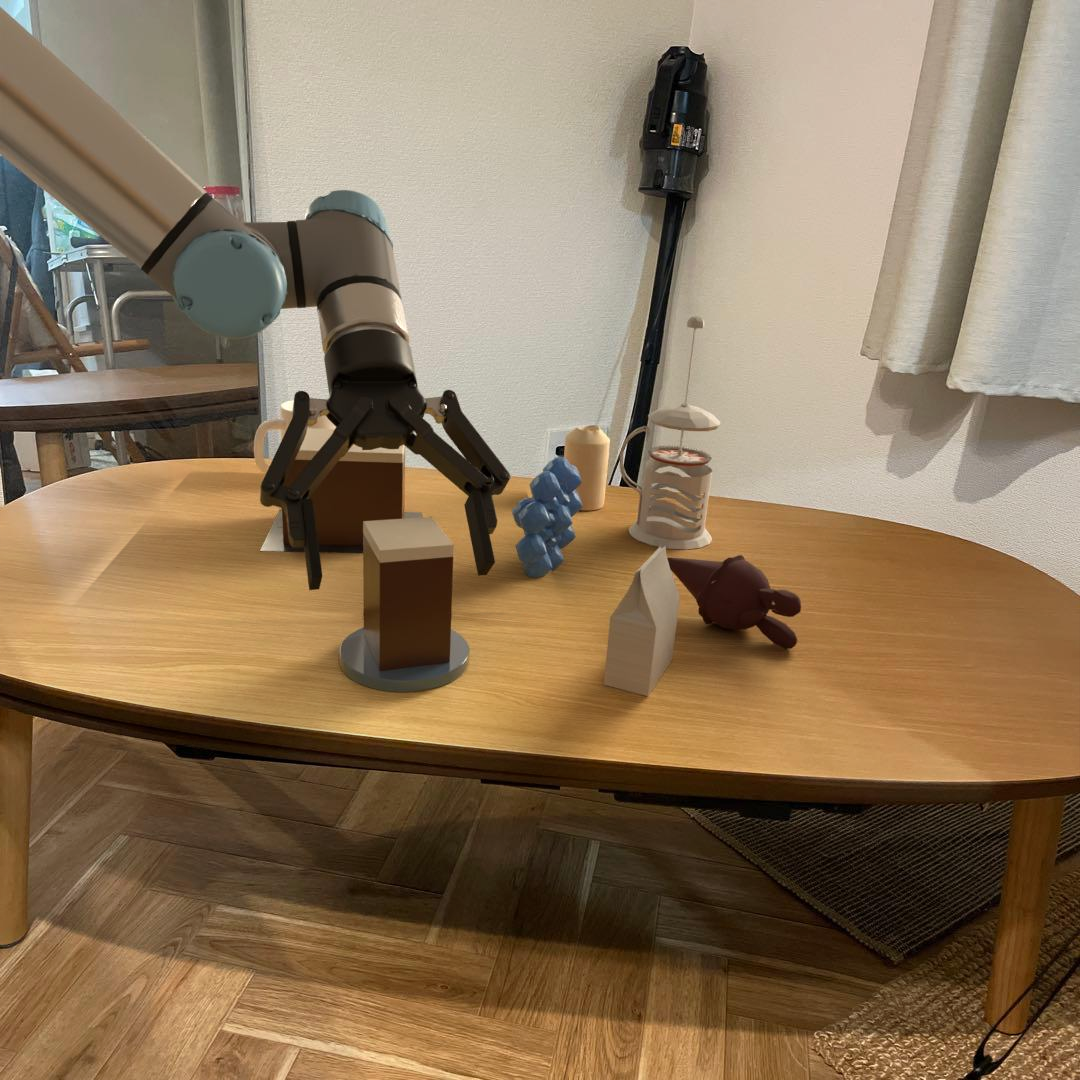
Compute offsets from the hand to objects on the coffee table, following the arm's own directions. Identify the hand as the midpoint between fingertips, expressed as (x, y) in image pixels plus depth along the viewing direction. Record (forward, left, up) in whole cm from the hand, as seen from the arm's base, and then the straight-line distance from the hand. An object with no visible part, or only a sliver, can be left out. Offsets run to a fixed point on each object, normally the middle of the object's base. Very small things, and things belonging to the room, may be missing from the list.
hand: (404, 576), depth 70 cm
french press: (+29, +31, -7) cm, 43 cm away
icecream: (+29, +7, -7) cm, 31 cm away
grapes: (+13, +19, -7) cm, 24 cm away
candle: (+21, +41, -7) cm, 47 cm away
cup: (-14, +45, -7) cm, 48 cm away
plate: (0, 0, -7) cm, 7 cm away
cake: (-7, +27, -6) cm, 28 cm away
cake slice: (0, 0, -6) cm, 6 cm away
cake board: (-7, +27, -7) cm, 29 cm away
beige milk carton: (+19, -2, -7) cm, 21 cm away
